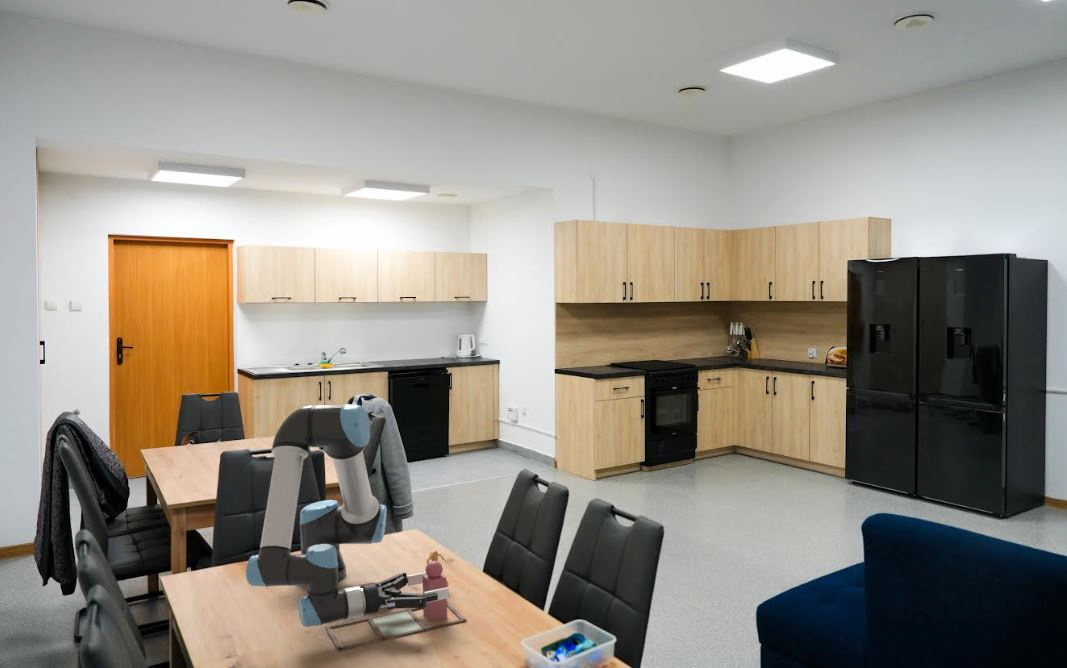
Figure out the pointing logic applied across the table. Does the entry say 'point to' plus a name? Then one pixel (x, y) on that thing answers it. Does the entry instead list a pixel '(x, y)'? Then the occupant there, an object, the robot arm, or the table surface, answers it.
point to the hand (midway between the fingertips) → (439, 584)
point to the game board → (393, 625)
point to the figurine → (435, 559)
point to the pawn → (433, 582)
